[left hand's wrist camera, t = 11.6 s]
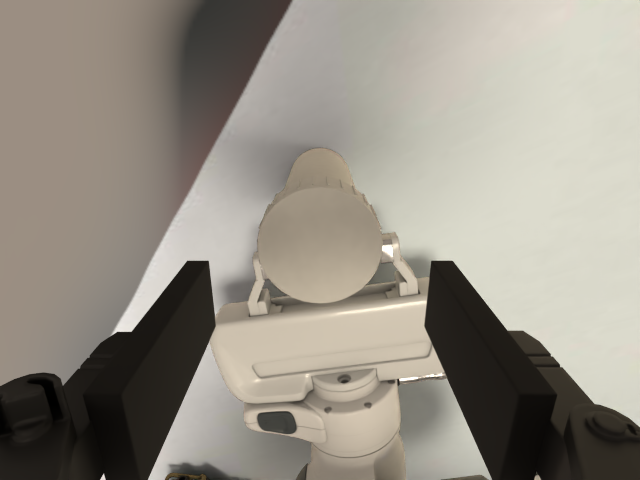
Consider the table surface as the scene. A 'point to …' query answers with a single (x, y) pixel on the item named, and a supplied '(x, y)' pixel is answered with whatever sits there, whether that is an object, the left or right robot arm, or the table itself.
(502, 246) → the table surface
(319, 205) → the lid
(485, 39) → the table surface
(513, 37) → the table surface
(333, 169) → the jar
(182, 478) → the spray gun
